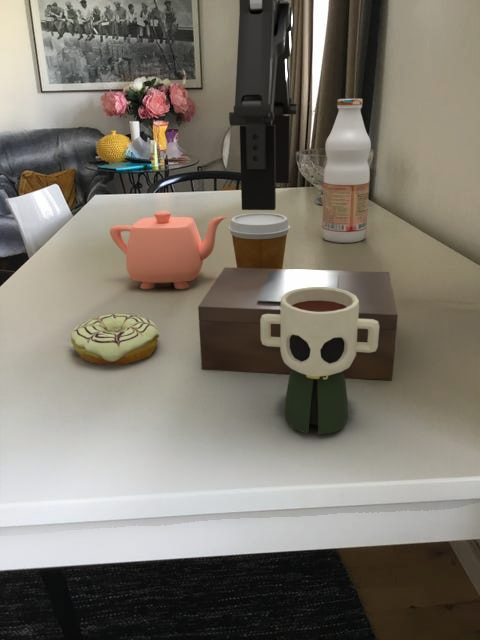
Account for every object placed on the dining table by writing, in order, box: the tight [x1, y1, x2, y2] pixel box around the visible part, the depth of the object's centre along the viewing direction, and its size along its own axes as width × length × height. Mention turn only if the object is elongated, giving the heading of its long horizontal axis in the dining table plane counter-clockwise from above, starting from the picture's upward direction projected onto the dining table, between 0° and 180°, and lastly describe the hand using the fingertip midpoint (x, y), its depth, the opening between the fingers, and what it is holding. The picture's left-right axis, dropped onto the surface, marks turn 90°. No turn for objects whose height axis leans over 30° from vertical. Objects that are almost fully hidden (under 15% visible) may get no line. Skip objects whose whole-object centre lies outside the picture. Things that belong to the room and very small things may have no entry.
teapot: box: [109, 210, 228, 290], centre depth 96 cm, size 20×12×12 cm, turn 86°
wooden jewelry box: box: [197, 266, 399, 381], centre depth 71 cm, size 22×15×8 cm
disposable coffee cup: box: [228, 212, 291, 269], centre depth 89 cm, size 10×10×12 cm
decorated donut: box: [70, 312, 161, 366], centre depth 72 cm, size 10×11×4 cm
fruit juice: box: [321, 98, 372, 244], centre depth 117 cm, size 9×9×28 cm
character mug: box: [260, 287, 379, 435], centre depth 54 cm, size 11×7×13 cm, turn 79°
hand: (268, 194), depth 53 cm, fingers open, 13 cm apart
